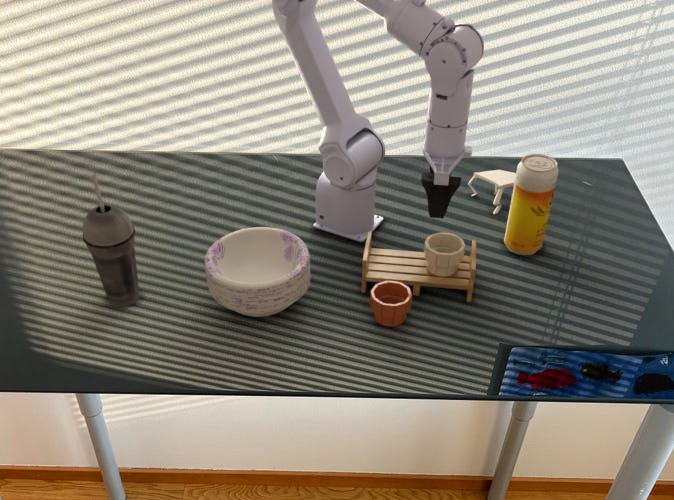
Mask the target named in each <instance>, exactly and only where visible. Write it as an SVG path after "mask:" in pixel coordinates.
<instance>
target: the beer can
mask: <svg viewBox="0 0 674 500" xmlns="http://www.w3.org/2000/svg"><path fill="white" fill-rule="evenodd" d="M559 171H560V170H559V167H558V161H557V160H556V159H555V158H553V157H551V156H549V155H546V154H541V153H531V154H526V155H524V156H523V157H522V158H521V159H520V161H519V163H518V164H517V166H516V172H515V173H516V177H515V182H514V186H513V189H512V194H511V200H510V204H509V211H508V215H507V216H508V217H507V221H506V227H505V233H504V237H503V242H504V244H505V246H506V248H507V249H508V251H510V252H511V253H514V254H516V255H520V256H530V255H533V254H535V253H536V252H538V251H539V250H541V249H542V247H543V243H544V240H545V236H546V235H545V234H546V231H547V225H548V222H549V217H550V214H551V207H552V203H553V199H554V194H555V190H556V185H557V181H558V176H559V173H560V172H559Z"/></svg>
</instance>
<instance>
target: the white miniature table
mask: <svg viewBox="0 0 674 500" xmlns="http://www.w3.org/2000/svg"><path fill="white" fill-rule="evenodd" d="M515 177H516V172H513V171H507V170H502V169H495V170H485V171H478V172H477V171H476V172H473V175H472V177H471V178H470V179H469V181H468V183H467V186H468V187H469V188H470V189H471V191H472V192H473V194H471V197H475V196H476V195H478V192H477V191H476V189H475V187H473V185H472V184H473V183H474V182H475V181H476V180H478V179H480V180H482V181H484V182H487V183H490V184H492V185H494V192H493V195H495V197H494V200H493V203H492V204H493V205H494V206H496V208H495V209H494V210H493V212H492V214H493V215H496V214H498V213H499V211H500V210H501V208H502V204H501V203H500V201H501V199H502V196H503V192H504V189H506V188H512V187H514V182H515Z"/></svg>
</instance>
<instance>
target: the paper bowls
mask: <svg viewBox="0 0 674 500" xmlns="http://www.w3.org/2000/svg"><path fill="white" fill-rule="evenodd" d="M203 264H204V271H205V277H206V283H207V287H208V291H209V294H210V295H211V297H212V299H214V302H216V303H217V304H219V305H220V306H222V307H224V308H225V309H228V310H231V311H233V312H236V313H239V314H240V315H244V316H246V317H253V318H254V317H255V318H260V317H261V318H262V317H269V316H272V315H276V314H279V313H281V312H282V311H284V310H286V309H287V308H289V306H291V305H292V304H294V303H296V302H297V301H298V300H299V299H301V298H302V297H303V296H304V295H305V293H306V292H307V291H308V289H309V287H310V284H311V255H310V252H309V248H308V246H307V244H306V243H305V242H304V241H303V239H301V238H300V237H299V236H297V235H296V234H294V233H292V232H290V231H289V230H284V229H282V228H278V227H277V228H275V227H267V226H255V227H247V228H242V229H241V228H240V229H238V230H235V231H232V232H230V233H227V234H226V235H223V236H222V237H220V238H219V239H217V240H215V242H213V244H211V246H209V248H208V249H207V251H206V253H205V256H204V260H203Z"/></svg>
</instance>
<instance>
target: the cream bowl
mask: <svg viewBox="0 0 674 500" xmlns="http://www.w3.org/2000/svg"><path fill="white" fill-rule="evenodd" d="M423 252H424V256H425V259H426V266H427V269H428V270H429V271H430V272H431V273H432V274H434V275H436V276H441V277H446V276H450V275H452V274H454V273H456V271H457V270H458V268H459V264H460V262H461V261H462V260H463V258H464V256H465V252H466V243H465V241H464V239H463V237H461V236H459V235H457V234H455V233H451V232H443V231H441V232H436V233H432V234H430V235H428V236H427V238H426V239H425V241H424V246H423Z"/></svg>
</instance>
